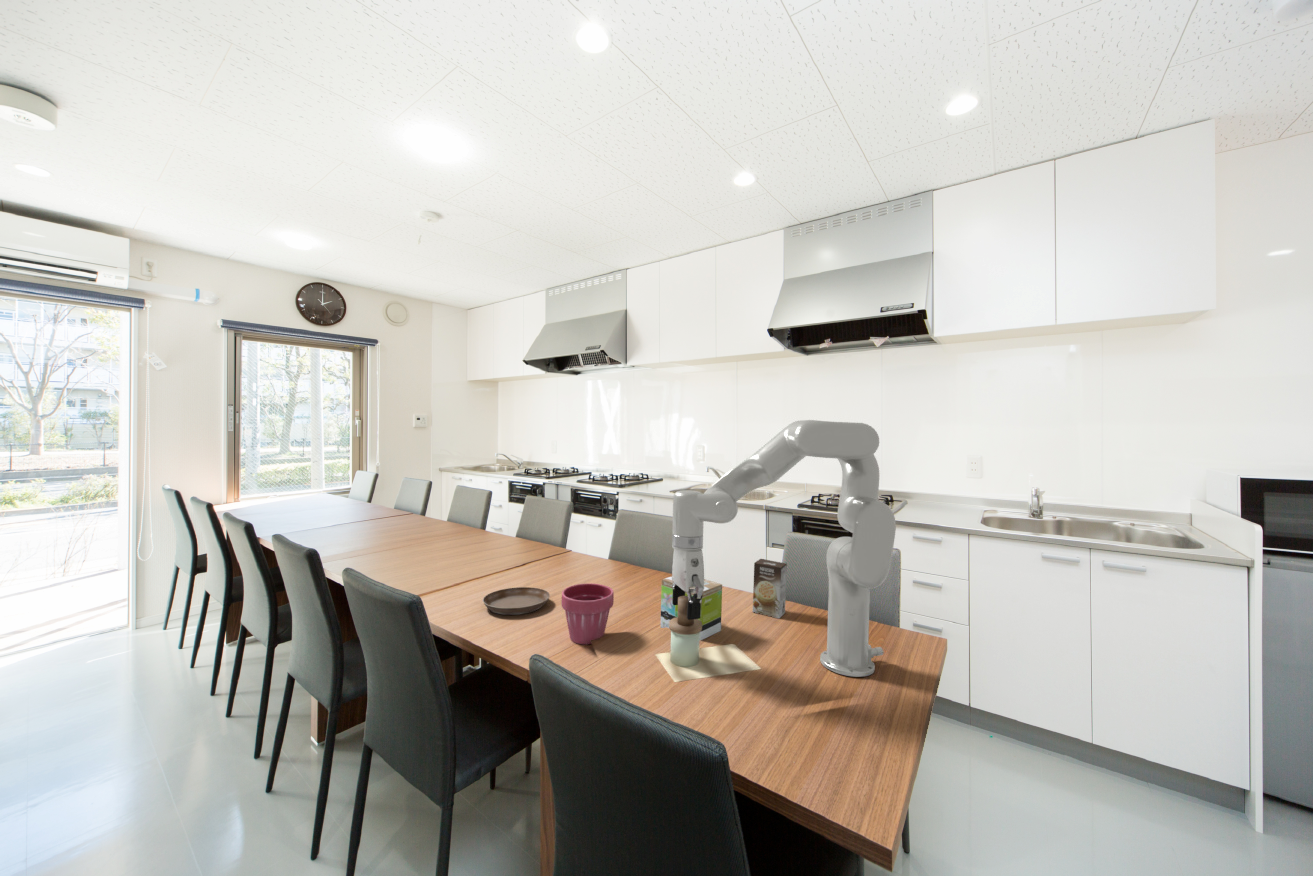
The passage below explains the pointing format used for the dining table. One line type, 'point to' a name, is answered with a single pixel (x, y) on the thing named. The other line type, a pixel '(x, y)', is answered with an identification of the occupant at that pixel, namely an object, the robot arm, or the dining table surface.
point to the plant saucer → (516, 600)
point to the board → (710, 663)
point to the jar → (684, 649)
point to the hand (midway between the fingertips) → (685, 611)
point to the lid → (684, 620)
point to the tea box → (709, 606)
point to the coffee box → (769, 588)
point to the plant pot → (587, 610)
